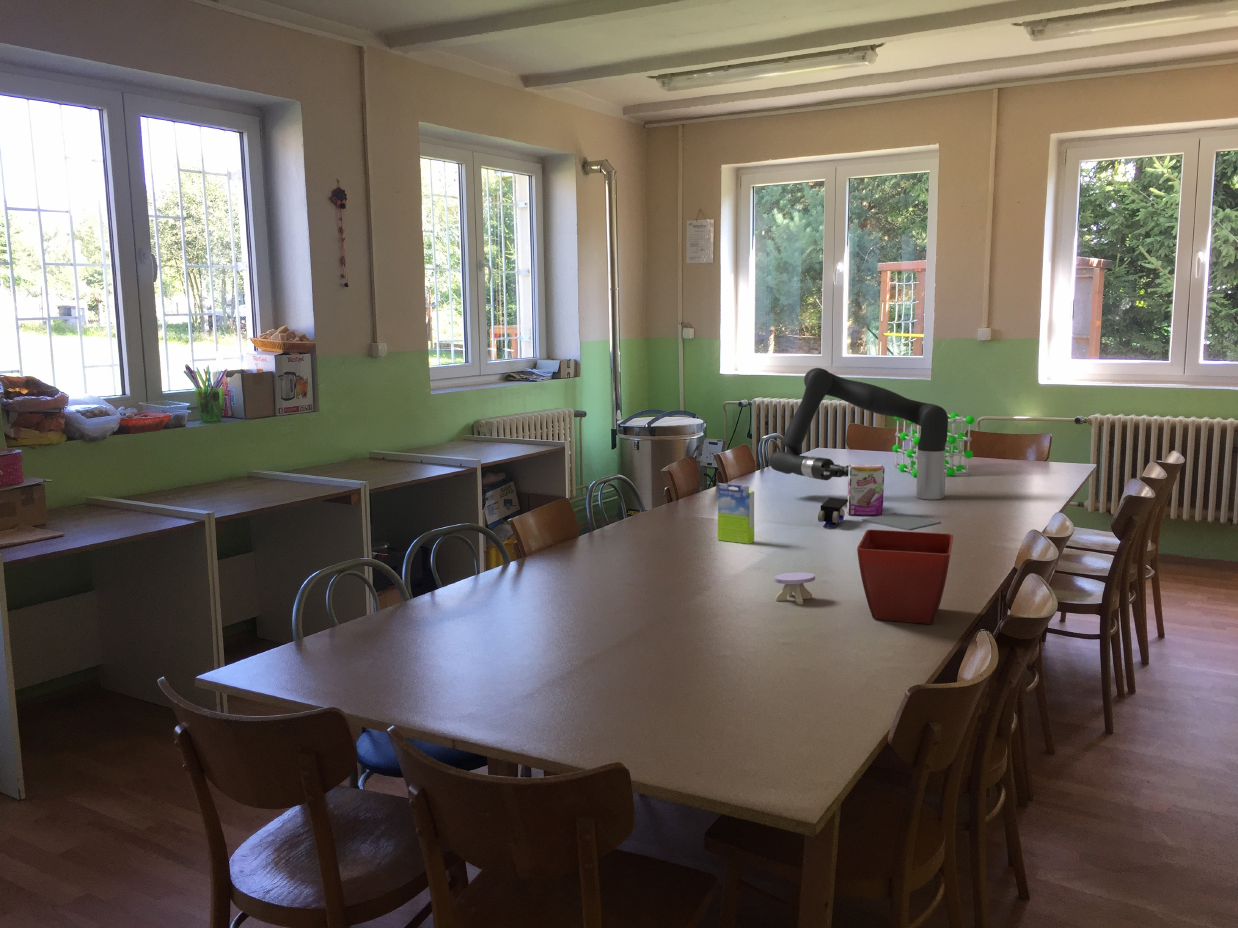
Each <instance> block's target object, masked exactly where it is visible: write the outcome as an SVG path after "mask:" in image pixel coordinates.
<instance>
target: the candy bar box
mask: <svg viewBox="0 0 1238 928" xmlns="http://www.w3.org/2000/svg"><path fill="white" fill-rule="evenodd" d="M848 465H849V470H848V477H847V499H848V502H847V503H846V513H847V516H863V517H864V516H867V517H868V516H869V517H870V516H871V517H876V516H881V515H883V513H884V511H883V509H884V493H885V492H884V489H885V488H884V485H885V466H884V465H882V464H848Z"/></svg>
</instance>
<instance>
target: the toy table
mask: <svg viewBox="0 0 1238 928" xmlns="http://www.w3.org/2000/svg"><path fill="white" fill-rule="evenodd" d="M773 580H774V582H775V583H777V584H782V585H783V584H784V585H783V588H782V589H781V590H780V591H779V592H778V593H776V596H775V598H774V601H776V602H783V601H784V602H785V601H787V598H789V597H790V598H791V597H793V593H794V598H795V603H797V604H798V605H804V600H806V599H813V594H812V593H811V591H809V590H808V589H807V588H806V586H805V584H806V583H812V582H814V581H815V580H816V574H815V573H811V572H802V571H801V572H799V571H798V572H796V571H795V572H787V573H780V574H777V575H775V576H774V577H773Z"/></svg>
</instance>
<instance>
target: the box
mask: <svg viewBox="0 0 1238 928" xmlns="http://www.w3.org/2000/svg"><path fill="white" fill-rule="evenodd" d="M731 487H734V488H736V489H734V488H731ZM717 488H718V490H717V541H720V542H721V541H723V542H732V543H740V544H746V545H750V544H752V543H754V542H755V491H754V490H750V486H749V485H742V484H729V483H722V482H721V483H720V482H718V483H717Z"/></svg>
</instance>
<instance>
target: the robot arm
mask: <svg viewBox="0 0 1238 928" xmlns="http://www.w3.org/2000/svg"><path fill="white" fill-rule="evenodd" d="M803 382H804V386H805V390H804V393H803V396H802V399H801V401H800V403H799V406H798V407H797V410H796V411H795V413H794V414H793V416H792V418H791V419H790V422H789V424H788V426H787V429H786V431H785V433H784V435H783V438H782V440H781V441H782V444H783V445H784V446H785V447H786V452H785V451H775V452H773V453H772V454H771V455H770V456H769V459H768V463H769V466H770V468H771V469H772V470H774V471H776V472H780V473H783V474H787V475H790V474H794V475H797V476H800V477H801V476H802V477H807V478H811V479H816V480H822V481H829V480H831V479H832V478H843V477H844V478H846V477H847V478H848V470H849V465H850V464H848V465H845V466H844V465H840V464H835V463H834V461H833V460H832V459H831V458H826V457H820V456H808V455H801V452H802V451H801V449H802V445H803V443H804V441H805V439H806V436H807V434H808V432H809V429H810V426H811V424H812V421H813V419H814V417H815V415H816V413H817V410H818V408H820V407H819V406H821V404H822V401H823V400H824V398H825V397H826V396H829V397H832V398H836V399H840V400H842V401H845V402H846V403H847V404H850V405H853V406H855V407H857V408H859V409H862V410H864V411H867V412H871V413H873V414H877V415H882V416H887V417H892V418H894V417H898V418H901V420H903V419H905V420H906V421H907V420H908V421H910V422H913V423H915V425H917V426H918V425H919V427H920V426H921V433H920V432H919V433H920V440H919V442H918V459H917V477H916V492H915V493H916V494H915V495H916V496H915V497H916V498H917V499H921V500H930V501H931V500H942V499H944V498H945V495H946V475H947V473H946V472H945V470H944V465H945V445H947V442H948V441H947V437H948V436H947V432H948V429H949V422H948V415H947V413H948V412H947V411H946V409H944V408H943V407H942V406H940V405H937V404H933V403H928V402H922V401H917V400H913V399H910V398H907V397H905V396H903V395H900V394H899V393H897V392H895V391H892V390H889V389H886V388H884V387H881V386H878V385H874V384H871V383H867V382H862V381H858V380H851V379H847V378H844V377H842V376H839V375H836V374H833V373H831V372H830V371H828V370H827V369H824V368H822V367H815V368H811V369H809V370H808V371H807V372H806V373H805V374H804V379H803ZM908 421H907V422H908Z"/></svg>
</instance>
